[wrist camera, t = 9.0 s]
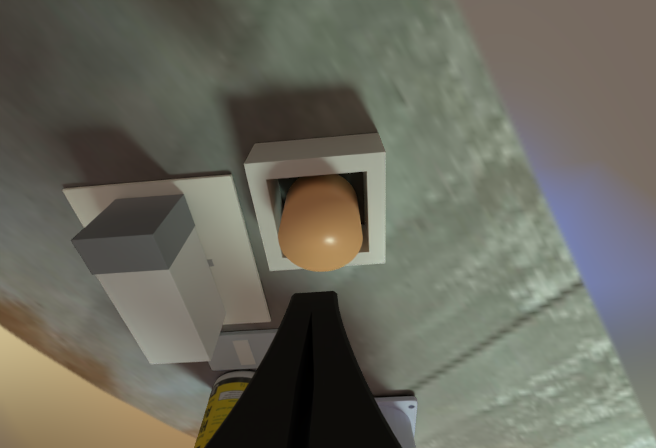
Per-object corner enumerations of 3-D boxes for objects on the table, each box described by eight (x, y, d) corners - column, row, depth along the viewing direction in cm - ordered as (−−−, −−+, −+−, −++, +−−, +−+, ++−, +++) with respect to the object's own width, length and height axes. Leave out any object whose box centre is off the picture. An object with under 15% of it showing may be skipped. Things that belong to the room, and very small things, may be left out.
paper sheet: (271, 319, 23) (270, 322, 23) (145, 327, 24) (143, 330, 24) (231, 174, 17) (230, 176, 17) (64, 188, 18) (61, 190, 18)
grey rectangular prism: (227, 313, 23) (210, 362, 19) (173, 316, 23) (149, 365, 20) (183, 193, 18) (152, 234, 15) (115, 199, 18) (70, 240, 15)
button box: (379, 235, 19) (385, 263, 17) (276, 242, 20) (269, 271, 18) (378, 132, 16) (385, 152, 14) (254, 143, 16) (243, 164, 14)
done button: (358, 231, 18) (364, 268, 15) (291, 236, 18) (285, 274, 15) (355, 168, 16) (361, 199, 13) (280, 174, 16) (270, 206, 13)
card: (289, 363, 26) (288, 367, 26) (213, 367, 26) (211, 371, 26) (280, 328, 24) (280, 332, 23) (197, 333, 24) (196, 337, 24)
